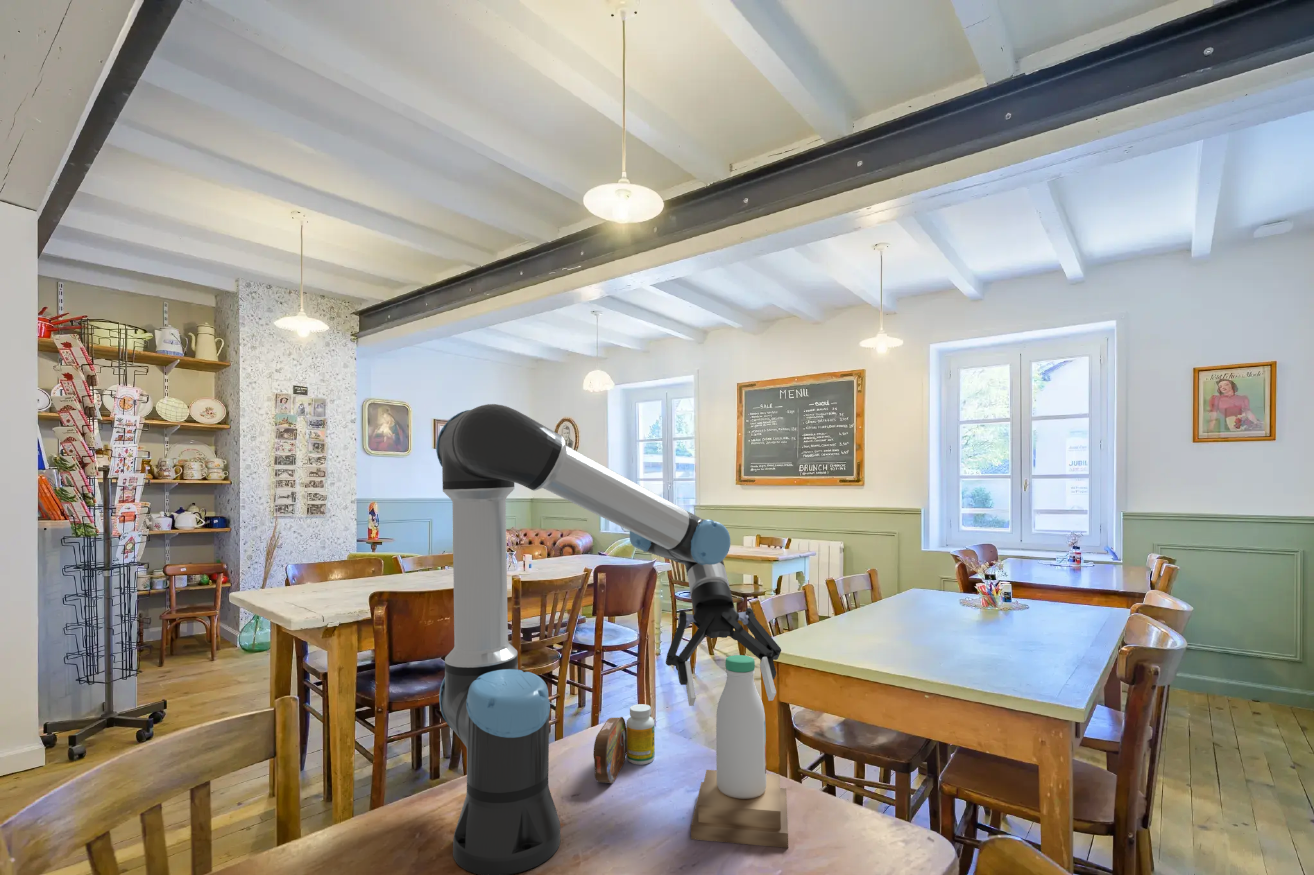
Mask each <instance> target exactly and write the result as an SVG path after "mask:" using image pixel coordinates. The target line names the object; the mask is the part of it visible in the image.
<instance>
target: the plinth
mask: <svg viewBox="0 0 1314 875" xmlns="http://www.w3.org/2000/svg"><path fill="white" fill-rule="evenodd" d="M787 798H788V797H787V788H786V787H781V774H775V773H774V774H773V773H772V774H771V773H766V789H765V792H764V793H763V794H762V795H760V796H758V797H755V798H750V799H739V798H733V797H730V796H727V795H725V794H723V793H722V792H721V791H720V790H719V789H718V786H717V769H716V770H715V769H706V770H705V776H704V779H703V781H701V783H700V786H699V790H698V795H697V799H696V802H695V803H696V804H695V806H694V811H693V815H692V816H693V817H692V819H691V824H690V833H691V834H690V840H697V841H708V842H717V843H718V842H719V843H729V844H730V843H731V844H740V845H741V844H742V845H753V846H762V847H763V846H765V847H776V848H786V849H789V820H788V819H789V818H788V800H787Z"/></svg>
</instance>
